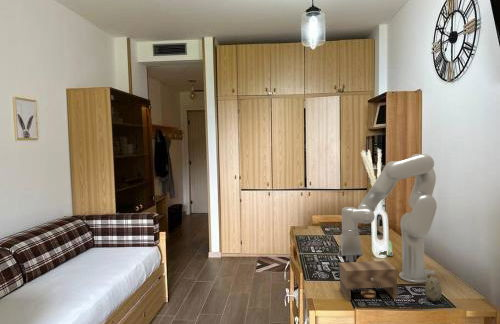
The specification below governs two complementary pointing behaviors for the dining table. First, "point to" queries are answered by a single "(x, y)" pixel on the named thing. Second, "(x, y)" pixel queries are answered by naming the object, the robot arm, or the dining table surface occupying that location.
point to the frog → (390, 249)
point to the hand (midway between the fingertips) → (350, 267)
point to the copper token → (368, 293)
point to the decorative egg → (433, 289)
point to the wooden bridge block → (368, 277)
